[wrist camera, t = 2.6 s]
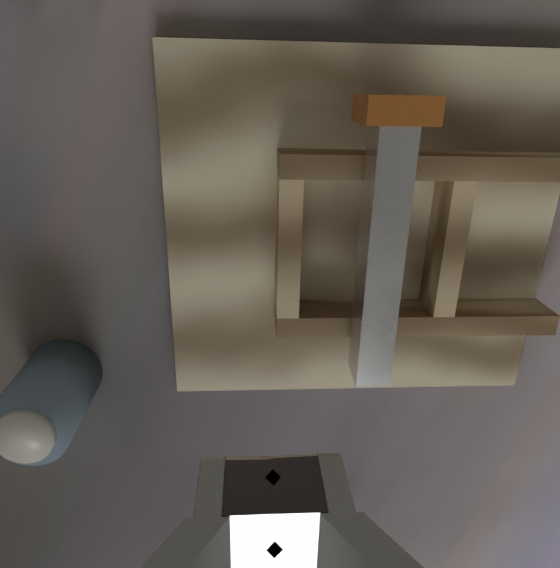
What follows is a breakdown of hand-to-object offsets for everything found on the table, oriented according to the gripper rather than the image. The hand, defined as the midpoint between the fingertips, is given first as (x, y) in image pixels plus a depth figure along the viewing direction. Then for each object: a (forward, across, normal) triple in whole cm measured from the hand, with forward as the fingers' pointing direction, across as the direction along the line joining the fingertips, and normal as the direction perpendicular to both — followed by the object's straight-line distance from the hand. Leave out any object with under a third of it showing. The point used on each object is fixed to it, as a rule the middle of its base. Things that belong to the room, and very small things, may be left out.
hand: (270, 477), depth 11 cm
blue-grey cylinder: (+19, -12, -9) cm, 24 cm away
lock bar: (+16, +6, +1) cm, 17 cm away
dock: (+19, +6, 0) cm, 20 cm away
